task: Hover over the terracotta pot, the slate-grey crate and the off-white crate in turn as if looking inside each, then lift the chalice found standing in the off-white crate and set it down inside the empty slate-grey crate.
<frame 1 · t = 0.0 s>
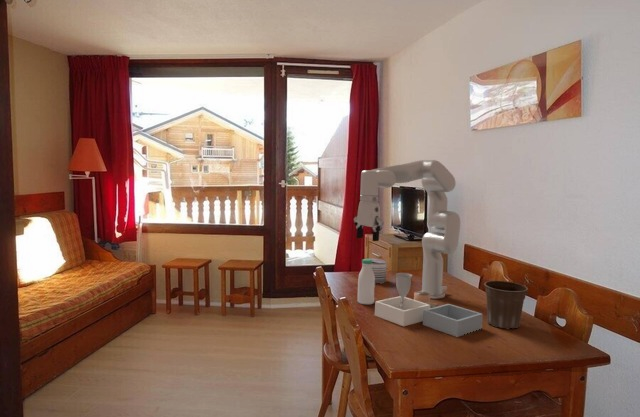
hand: (367, 239, 193), 31 cm above the table, tool pointing down, fingers open, 9 cm apart
milk bottle: (365, 302, 209), on the table
chalice: (401, 317, 188), resting in white crate
can: (375, 281, 250), on the table
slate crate: (452, 326, 178), on the table
white crate: (402, 317, 188), on the table
plant pot: (503, 325, 183), on the table
terracotta pot: (421, 309, 201), on the table
walnut block: (430, 315, 192), on the table
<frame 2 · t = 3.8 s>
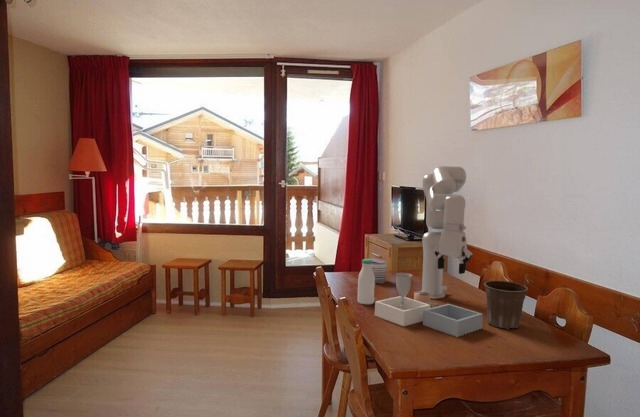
hand: (451, 270, 177), 22 cm above the table, tool pointing down, fingers open, 9 cm apart
nothing on the table moved.
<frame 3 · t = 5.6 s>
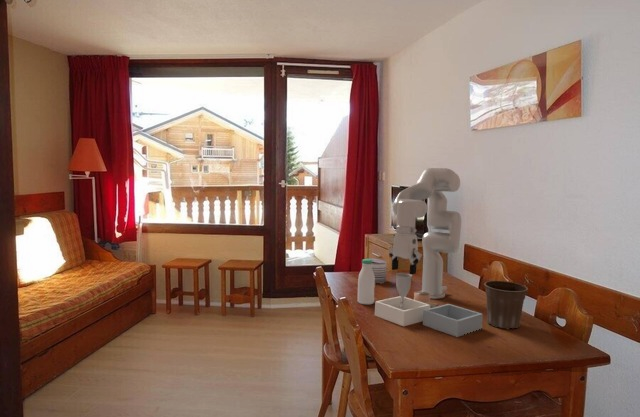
hand: (403, 271, 186), 19 cm above the table, tool pointing down, fingers open, 9 cm apart
nothing on the table moved.
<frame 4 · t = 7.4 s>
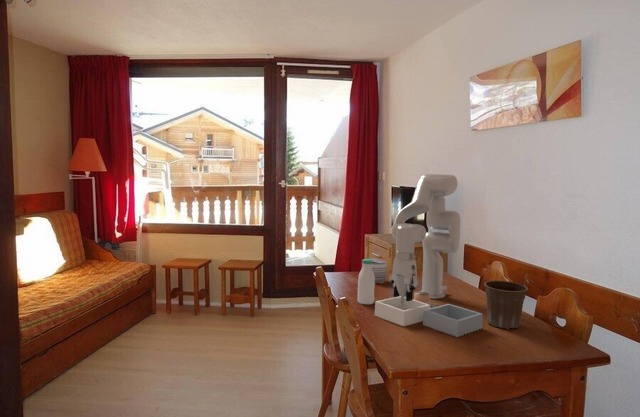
hand: (402, 298, 188), 8 cm above the table, tool pointing down, fingers closed on chalice, 6 cm apart
chalice: (401, 317, 188), resting in white crate, touching gripper
everything else where it was.
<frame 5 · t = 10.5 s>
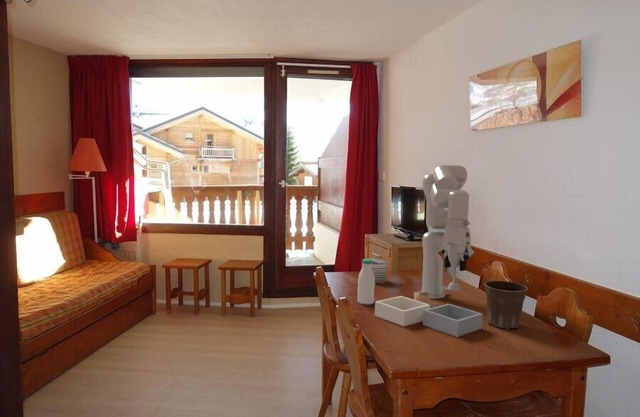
hand: (454, 268, 177), 23 cm above the table, tool pointing down, fingers closed on chalice, 6 cm apart
chalice: (453, 289, 177), point 15 cm above the table, touching gripper
everything else where it was.
when the fingers open (9 cm above the table, at t = 13.9 s): chalice drops 1 cm, resting in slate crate.
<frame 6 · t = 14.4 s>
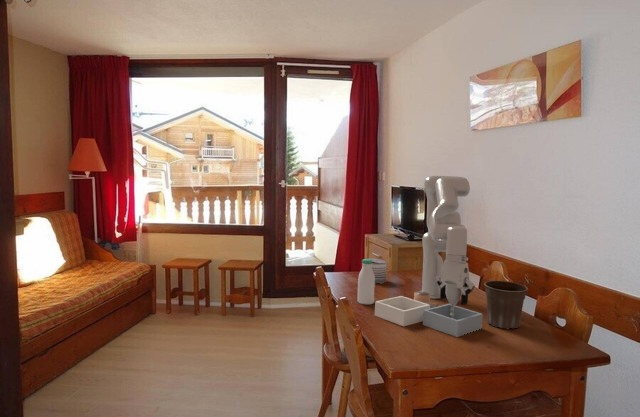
hand: (453, 301, 177), 10 cm above the table, tool pointing down, fingers open, 9 cm apart
chalice: (451, 327, 179), resting in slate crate
everything else where it was.
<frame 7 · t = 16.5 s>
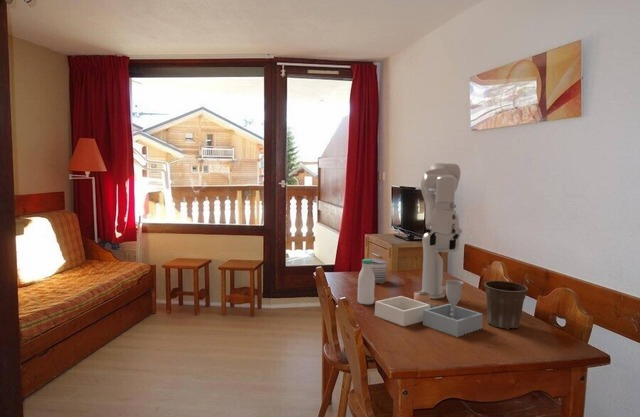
hand: (442, 247, 188), 30 cm above the table, tool pointing down, fingers open, 9 cm apart
nothing on the table moved.
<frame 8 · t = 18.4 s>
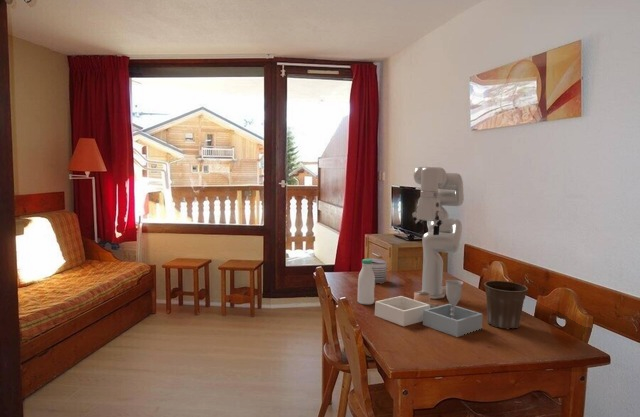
hand: (427, 233, 202), 33 cm above the table, tool pointing down, fingers open, 9 cm apart
nothing on the table moved.
at the end: chalice inside the target area on the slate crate (0.1 cm from its centre), point 0.0 cm above the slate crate's base; chalice tilted 0°; the gripper is holding nothing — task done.
